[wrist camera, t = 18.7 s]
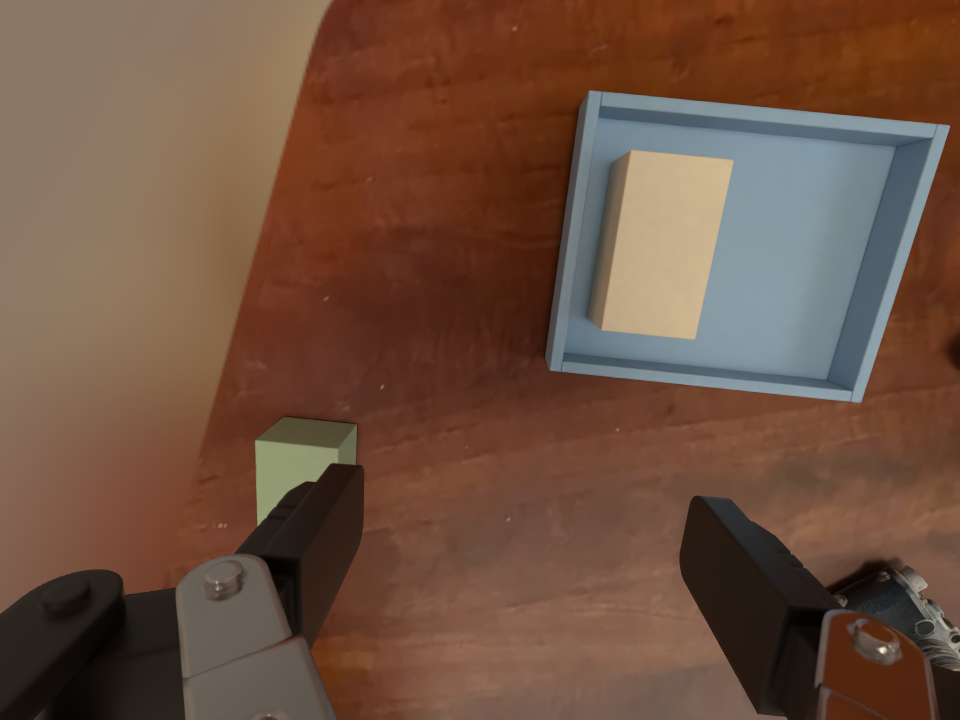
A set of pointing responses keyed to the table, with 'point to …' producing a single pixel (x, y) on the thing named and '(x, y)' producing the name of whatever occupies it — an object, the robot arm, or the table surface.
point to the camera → (905, 612)
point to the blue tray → (756, 243)
